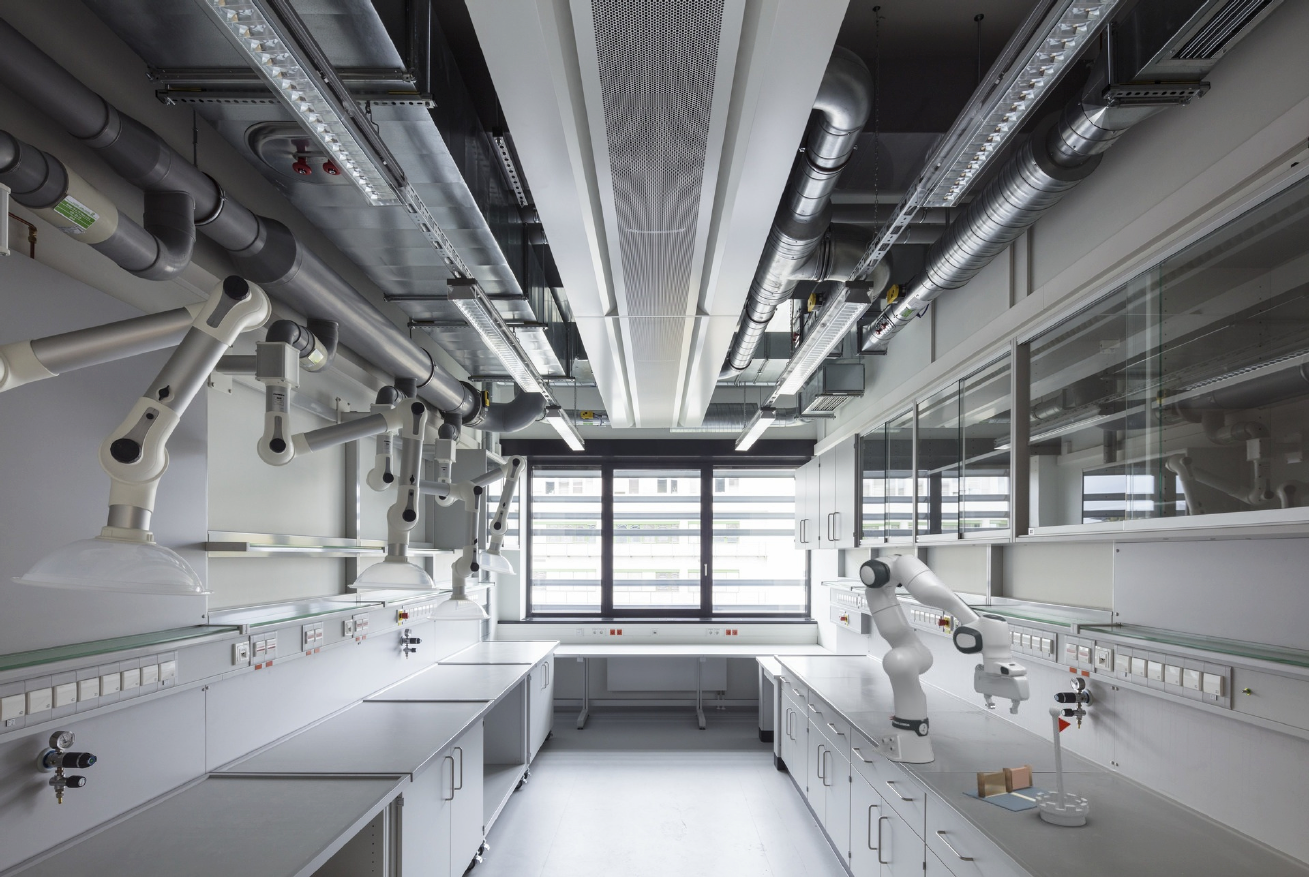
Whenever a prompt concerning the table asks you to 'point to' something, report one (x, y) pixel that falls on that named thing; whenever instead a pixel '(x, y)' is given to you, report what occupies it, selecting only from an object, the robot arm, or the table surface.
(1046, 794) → the board
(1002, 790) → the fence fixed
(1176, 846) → the table surface
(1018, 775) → the fence section
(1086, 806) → the flag stand
